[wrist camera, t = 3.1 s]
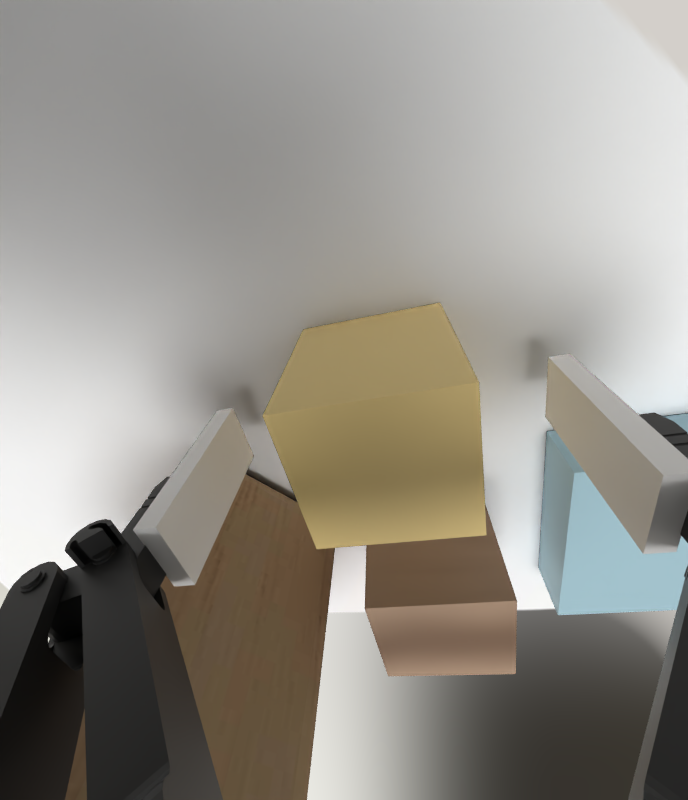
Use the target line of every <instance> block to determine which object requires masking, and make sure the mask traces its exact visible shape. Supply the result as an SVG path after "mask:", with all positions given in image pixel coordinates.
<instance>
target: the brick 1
mask: <svg viewBox="0 0 688 800" xmlns="http://www.w3.org/2000/svg"><path fill="white" fill-rule="evenodd" d="M263 418H264V421H265V423H266V426H267V428H268V431H269V433H270V436H271V438H272V441H273V443H274V445H275V448H276V450H277V453H278V455H279V458H280V460H281V463H282V465H283V468H284V470H285V473H286V475H287V477H288V480H289V482H290V485H291V487H292V490H293V492H294V495H295V497H296V500H297V502H298V505H299V507H300V509H301V512H302V514H303V517H304V519H305V522H306V524H307V527H308V529H309V532H310V534H311V537H312V539H313V541H314V544H315V546H316V549H326V548H338V547H350V546H362V545H374V544H387V543H399V542H411V541H423V540H435V539H447V538H459V537H471V536H484V535H486V515H485V495H484V474H483V454H482V433H481V413H480V392H479V381H478V379H477V377H476V375H475V373H474V371H473V369H472V367H471V365H470V363H469V361H468V359H467V357H466V355H465V353H464V351H463V348H462V346H461V344H460V342H459V340H458V338H457V336H456V334H455V332H454V330H453V328H452V326H451V324H450V322H449V320H448V318H447V316H446V314H445V312H444V310H443V308H442V305H441V303H435V304H429V305H424V306H419V307H414V308H409V309H404V310H399V311H394V312H389V313H384V314H378V315H373V316H368V317H363V318H358V319H353V320H348V321H343V322H338V323H333V324H327V325H322V326H317V327H312V328H307V329H303V331H302V333H301V335H300V338H299V340H298V342H297V344H296V346H295V348H294V350H293V352H292V354H291V357H290V359H289V361H288V363H287V365H286V367H285V369H284V371H283V373H282V376H281V378H280V380H279V382H278V384H277V386H276V388H275V390H274V392H273V395H272V397H271V399H270V401H269V403H268V405H267V407H266V409H265V411H264V414H263Z"/></svg>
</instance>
